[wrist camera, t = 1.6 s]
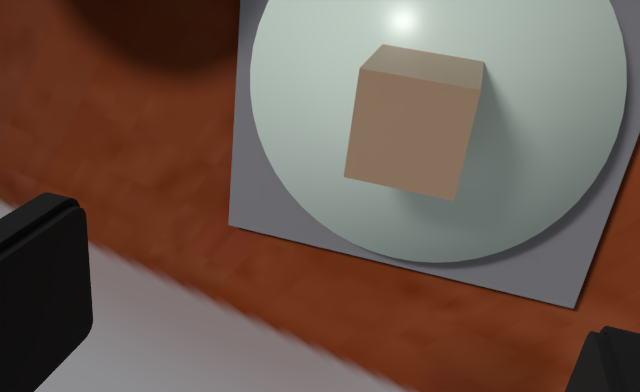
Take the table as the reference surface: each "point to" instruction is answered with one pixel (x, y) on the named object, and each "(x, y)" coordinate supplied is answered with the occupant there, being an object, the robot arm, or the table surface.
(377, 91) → the lid
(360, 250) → the mat
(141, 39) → the table surface
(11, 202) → the table surface
